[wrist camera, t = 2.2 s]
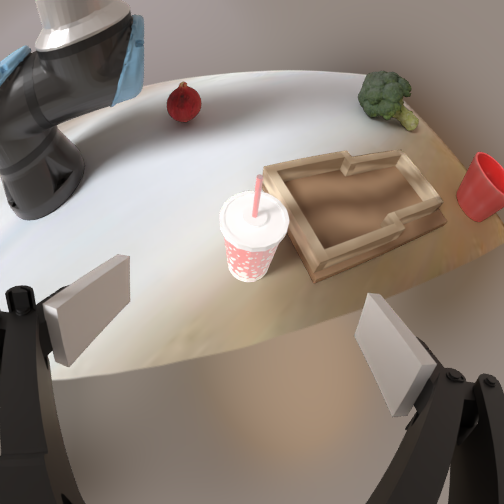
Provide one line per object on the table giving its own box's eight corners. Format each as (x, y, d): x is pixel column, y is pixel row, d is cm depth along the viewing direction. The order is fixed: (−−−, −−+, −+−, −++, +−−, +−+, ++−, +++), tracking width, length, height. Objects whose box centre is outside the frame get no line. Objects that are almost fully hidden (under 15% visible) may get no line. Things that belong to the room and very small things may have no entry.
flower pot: (491, 238, 38) (522, 209, 30) (451, 213, 40) (481, 177, 31) (485, 200, 43) (510, 171, 35) (447, 176, 45) (471, 142, 36)
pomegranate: (199, 131, 43) (197, 90, 36) (166, 131, 43) (160, 92, 36) (204, 112, 46) (202, 75, 39) (173, 113, 46) (168, 76, 39)
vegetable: (419, 145, 45) (367, 90, 40) (384, 145, 57) (336, 101, 52) (440, 105, 42) (393, 52, 38) (405, 110, 54) (362, 67, 50)
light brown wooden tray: (258, 182, 38) (261, 162, 35) (389, 155, 45) (397, 140, 41) (313, 283, 32) (323, 269, 28) (443, 225, 38) (456, 211, 35)
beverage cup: (244, 299, 30) (255, 225, 18) (210, 259, 32) (200, 171, 20) (285, 267, 33) (318, 184, 20) (251, 231, 35) (262, 140, 22)
